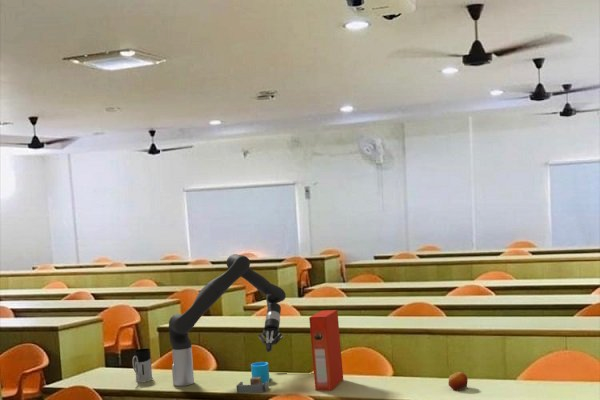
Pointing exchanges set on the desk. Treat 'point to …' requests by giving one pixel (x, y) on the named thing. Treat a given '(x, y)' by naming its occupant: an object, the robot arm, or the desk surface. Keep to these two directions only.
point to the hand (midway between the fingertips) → (268, 351)
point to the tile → (255, 381)
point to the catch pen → (252, 387)
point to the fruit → (458, 381)
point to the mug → (260, 371)
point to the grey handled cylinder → (142, 365)
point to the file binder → (326, 349)
